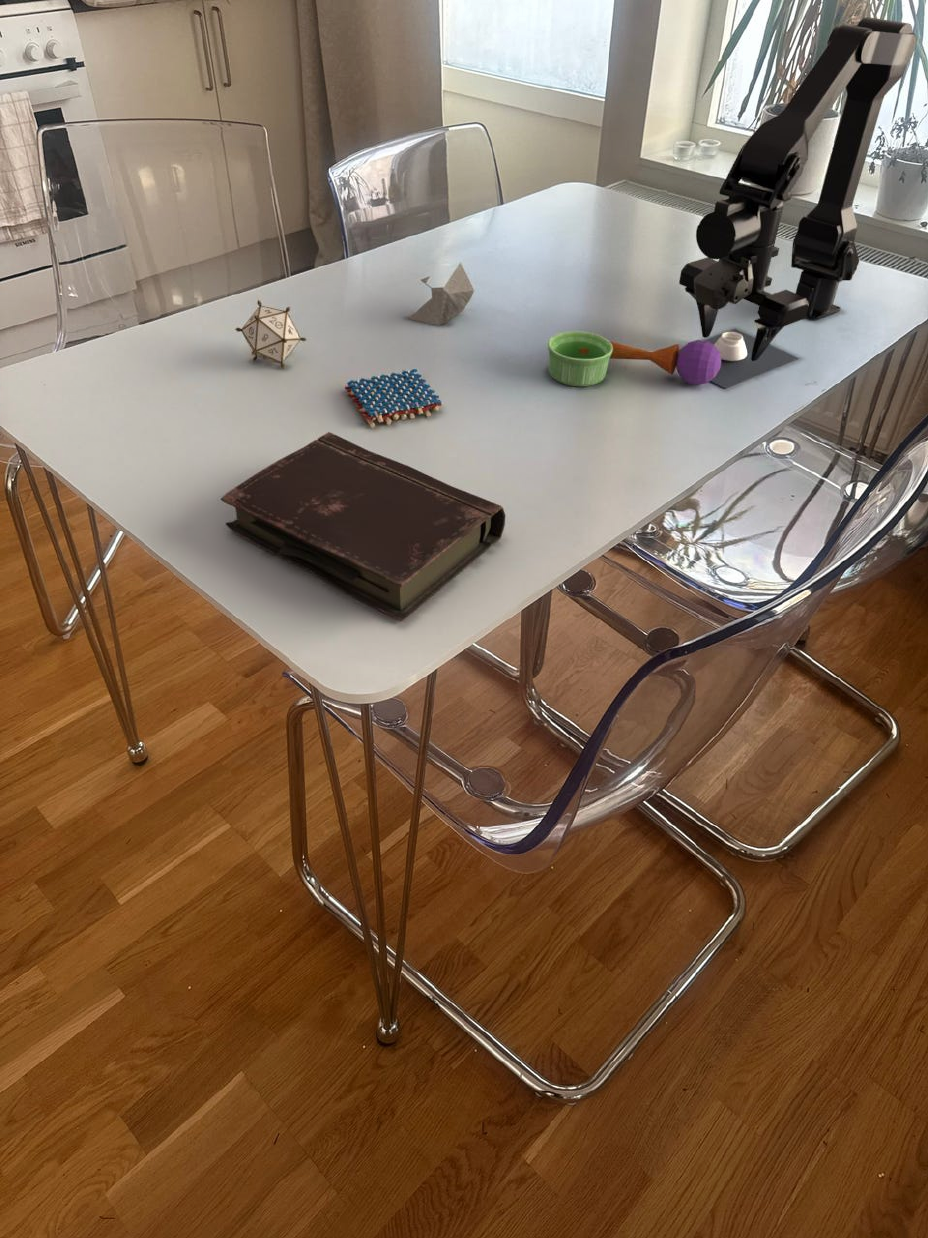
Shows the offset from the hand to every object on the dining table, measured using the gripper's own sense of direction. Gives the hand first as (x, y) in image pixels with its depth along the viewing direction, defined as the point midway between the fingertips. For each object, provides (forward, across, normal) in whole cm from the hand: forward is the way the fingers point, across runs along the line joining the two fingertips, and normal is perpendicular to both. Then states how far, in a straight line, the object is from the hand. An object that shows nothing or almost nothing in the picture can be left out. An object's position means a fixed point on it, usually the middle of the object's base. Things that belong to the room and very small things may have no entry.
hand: (729, 348), depth 136 cm
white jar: (+1, 0, 0) cm, 1 cm away
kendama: (+1, -3, -14) cm, 14 cm away
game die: (+2, -36, -55) cm, 66 cm away
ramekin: (+1, -8, -22) cm, 24 cm away
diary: (+2, +6, -67) cm, 67 cm away
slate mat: (+1, 0, 0) cm, 1 cm away
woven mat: (+2, -16, -48) cm, 51 cm away
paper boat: (+2, -36, -25) cm, 44 cm away
